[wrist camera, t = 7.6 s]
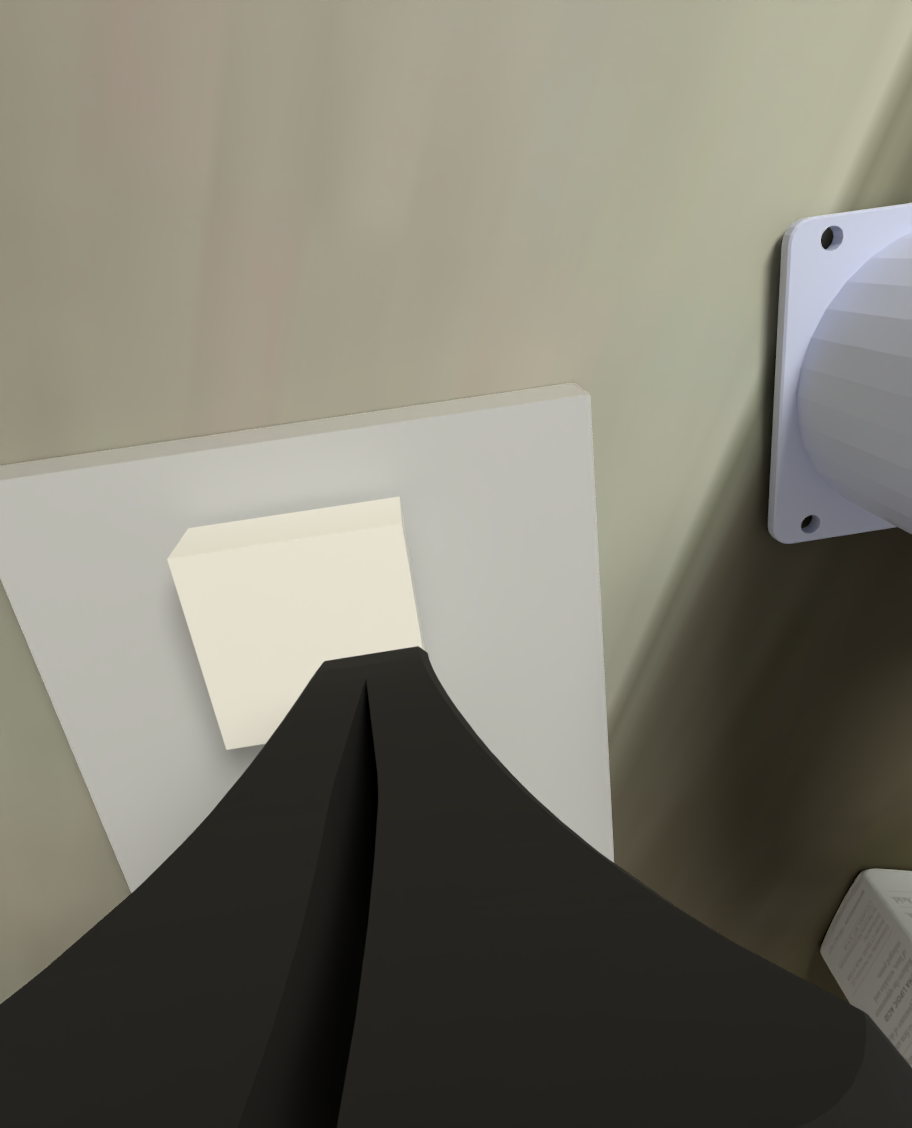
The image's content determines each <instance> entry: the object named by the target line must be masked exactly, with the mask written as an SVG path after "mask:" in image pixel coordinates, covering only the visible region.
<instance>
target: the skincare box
mask: <svg viewBox="0 0 912 1128" xmlns="http://www.w3.org/2000/svg"><path fill="white" fill-rule="evenodd" d="M820 953H821V955H822V957H823V959H824V961H825V962H826V964H827V966H828V968H829V969H830V971H831V973H832V974H833V976H834V978H835V979H836V981H837V983H838V984H839V986H840V988H841V990H842V991H843V993H844V995H845V996H846V998H847V1000H848V1001H849V1003H850V1004H851V1005H853V1006H855V1007H856V1008H858V1009H860V1010H862V1011H864V1012H865V1013H867V1014H868V1015H869V1016H870V1017H871V1019H872V1020H873V1021H874V1022H875V1023H876V1025H877V1026H878V1027H879V1028H880V1029H881V1031H882V1032H883V1033H884V1034H885V1035H886V1037H887V1038H888V1039H889V1040H890V1042H891V1043H892V1044H893V1045H894V1046H895V1048H896V1049H897V1050H898V1051H899V1053H900V1054H901V1055H902V1056H903V1058H904V1059H905V1060H906V1061H907V1062H908V1064H909V1065H910V1066H911V1067H912V871H905V870H893V869H878V868H874V869H868V870H864V871H862V872H860V874H859V875H858V876H857V878H856V879H855V881H854V883H853V884H852V886H851V887H850V889H849V891H848V893H847V894H846V896H845V898H844V900H843V902H842V903H841V905H840V907H839V909H838V911H837V913H836V915H835V917H834V918H833V921H832V923H831V925H830V927H829V929H828V931H827V933H826V936H825V938H824V940H823V943H822V946H821V949H820Z"/></svg>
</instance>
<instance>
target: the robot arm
mask: <svg viewBox="0 0 912 1128" xmlns="http://www.w3.org/2000/svg"><path fill="white" fill-rule="evenodd" d="M828 227H830V229H831V230H832V231H833V236H834V238H833V241H832V244H831V245H830V246H829V247H828V248H827V249H824V248H823V247H822V245H821V237H822V234H823V232H824V231H825V230H826V229H827V228H828ZM810 515H812V520H811V523H810V524H809V525H808V526H807V527H804V528H801V524H802V521H803V520H804V519H805V518H806V517H807V516H810ZM895 527H899V528H900V529H902V530H904V531H906V532H908V533H910V534H912V203H907V204H900V205H892V206H885V207H878V208H871V209H863V210H856V211H849V212H842V213H835V214H827V215H820V216H813V217H806V218H802V219H799V220H796V221H795V222H794V223H793V224H791V225H790V226H789V227H788V229H787V231H786V232H785V234H784V236H783V241H782V248H781V268H780V288H779V308H778V328H777V348H776V368H775V388H774V408H773V428H772V448H771V468H770V489H769V509H768V531H769V533H770V534H771V536H772V537H773V538H775V539H776V540H777V541H779V542H781V543H783V544H792V543H798V542H805V541H811V540H818V539H824V538H830V537H837V536H843V535H850V534H856V533H863V532H869V531H876V530H882V529H888V528H895ZM0 1128H912V1067H911V1066H910V1065H909V1064H908V1062H907V1061H906V1060H905V1059H904V1058H903V1056H902V1055H901V1054H900V1053H899V1051H898V1050H897V1049H896V1048H895V1046H894V1045H893V1044H892V1043H891V1042H890V1040H889V1039H888V1038H887V1037H886V1035H885V1034H884V1033H883V1032H882V1031H881V1029H880V1028H879V1027H878V1026H877V1025H876V1023H875V1022H874V1021H873V1020H872V1019H871V1017H870V1016H869V1015H868V1014H867V1013H865V1012H864V1011H862V1010H860V1009H858V1008H856V1007H855V1006H853V1005H851V1004H849V1003H847V1002H845V1001H843V1000H841V999H839V998H838V997H836V996H834V995H832V994H830V993H828V992H826V991H824V990H822V989H820V988H819V987H817V986H815V985H813V984H811V983H809V982H807V981H805V980H803V979H802V978H800V977H798V976H796V975H794V974H792V973H790V972H788V971H786V970H784V969H783V968H781V967H779V966H777V965H775V964H773V963H771V962H769V961H767V960H766V959H764V958H762V957H760V956H758V955H756V954H754V953H752V952H750V951H748V950H747V949H745V948H743V947H741V946H739V945H737V944H735V943H734V942H732V941H730V940H728V939H727V938H725V937H724V936H722V935H720V934H719V933H717V932H716V931H714V930H712V929H711V928H709V927H707V926H706V925H704V924H703V923H701V922H699V921H698V920H696V919H695V918H693V917H691V916H690V915H688V914H687V913H685V912H683V911H682V910H680V909H679V908H677V907H675V906H674V905H673V904H671V903H670V902H668V901H667V900H666V899H664V898H663V897H661V896H660V895H659V894H657V893H656V892H654V891H653V890H652V889H650V888H649V887H647V886H646V885H644V884H643V883H642V882H640V881H639V880H637V879H636V878H635V877H633V876H632V875H630V874H629V873H628V872H626V871H625V870H623V869H622V868H621V867H619V866H618V865H616V864H615V863H614V862H612V861H611V860H609V859H608V858H607V857H605V856H604V855H602V854H601V853H600V852H598V851H597V850H596V849H595V848H593V847H592V846H591V845H590V844H588V843H587V842H586V841H585V840H584V839H582V838H581V837H580V836H579V835H578V834H576V833H575V832H574V831H573V830H572V829H570V828H569V827H568V826H567V825H565V824H564V823H563V822H562V821H561V820H560V819H559V818H557V817H556V816H555V815H554V814H553V813H552V812H551V811H550V810H549V809H547V808H546V807H545V806H544V805H543V804H542V803H541V802H540V801H539V800H538V799H536V798H535V797H534V796H533V795H532V794H531V793H530V792H529V791H528V790H527V789H526V788H525V787H524V786H523V785H522V784H521V783H520V782H519V781H518V780H517V779H516V778H515V777H514V776H513V775H512V774H511V773H510V771H509V770H508V769H507V768H506V767H505V766H504V765H503V764H502V763H501V762H500V760H499V759H498V758H497V757H496V756H495V755H494V754H493V753H492V752H491V751H490V749H489V748H488V747H487V746H486V745H485V743H484V742H483V741H482V740H481V739H480V737H479V736H478V735H477V734H476V732H475V731H474V730H473V729H472V727H471V726H470V725H469V723H468V722H467V721H466V719H465V718H464V717H463V715H462V714H461V713H460V711H459V710H458V709H457V707H456V706H455V704H454V703H453V702H452V700H451V699H450V697H449V696H448V694H447V692H446V691H445V689H444V687H443V686H442V684H441V683H440V681H439V679H438V677H437V675H436V674H435V672H434V670H433V667H432V665H431V662H430V660H429V656H428V653H427V652H426V651H424V650H423V649H422V648H420V647H419V646H416V647H410V648H403V649H397V650H391V651H384V652H378V653H372V654H366V655H359V656H353V657H347V658H340V659H334V660H328V661H324V662H323V663H322V665H321V666H320V667H319V669H318V670H317V671H316V673H315V674H314V675H313V677H312V678H311V680H310V681H309V683H308V684H307V686H306V687H305V689H304V690H303V692H302V693H301V695H300V696H299V697H298V699H297V700H296V702H295V703H294V705H293V706H292V708H291V709H290V711H289V712H288V713H287V715H286V716H285V718H284V719H283V721H282V722H281V724H280V725H279V726H278V728H277V729H276V730H275V732H274V733H273V734H272V736H271V737H270V738H269V740H268V741H267V743H266V744H265V745H264V747H263V748H262V749H261V751H260V752H259V753H258V755H257V756H256V757H255V759H254V760H253V761H252V763H251V764H250V765H249V767H248V768H247V769H246V770H245V772H244V773H243V774H242V775H241V777H240V778H239V779H238V780H237V781H236V783H235V784H234V785H233V786H232V787H231V789H230V790H229V791H228V792H227V793H226V795H225V796H224V797H223V798H222V799H221V801H220V802H219V803H218V804H217V806H216V807H215V808H214V809H213V810H212V812H211V813H210V814H209V815H208V816H207V817H206V818H205V819H204V821H203V822H202V823H201V824H200V825H199V826H198V827H197V828H196V829H195V830H194V831H193V833H192V834H191V835H190V836H189V837H188V838H187V839H186V840H185V841H184V842H183V843H182V844H181V845H180V846H179V847H178V848H177V849H176V850H175V851H174V852H173V853H172V854H171V855H170V856H169V857H168V858H167V859H166V860H165V861H164V862H163V863H162V864H161V865H160V866H159V867H158V868H157V869H156V870H155V871H154V872H153V873H152V874H151V875H150V876H149V877H148V878H147V879H146V880H145V881H144V882H143V883H142V884H141V885H140V886H139V887H138V888H137V889H136V890H135V891H134V892H132V893H131V894H130V895H129V896H128V897H127V898H126V899H125V900H124V901H122V902H121V903H120V904H119V905H118V906H117V907H116V908H114V909H113V910H112V911H111V912H110V913H109V914H108V915H106V916H105V917H104V918H103V919H102V920H101V921H100V922H98V923H97V924H96V925H95V926H94V927H93V928H92V929H90V930H89V931H88V932H87V933H86V934H85V935H84V936H82V937H81V938H80V939H79V940H78V941H77V942H75V943H74V944H73V945H72V946H71V947H70V948H69V949H67V950H66V951H65V952H64V953H63V954H62V955H61V956H59V957H58V958H57V959H56V960H55V961H54V962H53V963H51V964H50V965H49V966H48V967H47V968H46V969H44V970H43V971H42V972H41V973H39V974H38V975H37V976H36V977H35V978H33V979H32V980H31V981H30V982H28V983H27V984H26V985H25V986H23V987H22V988H21V989H19V990H18V991H17V992H16V993H14V994H13V995H12V996H11V997H9V998H8V999H7V1000H5V1001H4V1002H3V1003H2V1004H0Z"/></svg>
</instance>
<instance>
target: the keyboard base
mask: <svg viewBox="0 0 912 1128" xmlns="http://www.w3.org/2000/svg"><path fill="white" fill-rule="evenodd" d="M393 497H400V501H401V508H402V514H403V520H404V526H405V532H406V538H407V544H408V550H409V556H410V562H411V568H412V574H413V580H414V586H415V593H416V599H417V605H418V611H419V617H420V623H421V629H422V635H423V641H424V647H425V651H426V652H427V653H428V656H429V660H430V662H431V665H432V667H433V670H434V672H435V674H436V675H437V677H438V679H439V681H440V683H441V684H442V686H443V687H444V689H445V691H446V692H447V694H448V696H449V697H450V699H451V700H452V702H453V703H454V704H455V706H456V707H457V709H458V710H459V711H460V713H461V714H462V715H463V717H464V718H465V719H466V721H467V722H468V723H469V725H470V726H471V727H472V729H473V730H474V731H475V732H476V734H477V735H478V736H479V737H480V739H481V740H482V741H483V742H484V743H485V745H486V746H487V747H488V748H489V749H490V751H491V752H492V753H493V754H494V755H495V756H496V757H497V758H498V759H499V760H500V762H501V763H502V764H503V765H504V766H505V767H506V768H507V769H508V770H509V771H510V773H511V774H512V775H513V776H514V777H515V778H516V779H517V780H518V781H519V782H520V783H521V784H522V785H523V786H524V787H525V788H526V789H527V790H528V791H529V792H530V793H531V794H532V795H533V796H534V797H535V798H536V799H538V800H539V801H540V802H541V803H542V804H543V805H544V806H545V807H546V808H547V809H549V810H550V811H551V812H552V813H553V814H554V815H555V816H556V817H557V818H559V819H560V820H561V821H562V822H563V823H564V824H565V825H567V826H568V827H569V828H570V829H572V830H573V831H574V832H575V833H576V834H578V835H579V836H580V837H581V838H582V839H584V840H585V841H586V842H587V843H588V844H590V845H591V846H592V847H593V848H595V849H596V850H597V851H598V852H600V853H601V854H602V855H604V856H605V857H607V858H608V859H609V860H611V861H612V862H614V850H613V830H612V811H611V791H610V771H609V752H608V732H607V712H606V693H605V673H604V654H603V634H602V614H601V595H600V575H599V556H598V536H597V516H596V497H595V477H594V457H593V438H592V418H591V399H590V394H589V393H588V392H586V391H585V390H584V389H582V388H581V387H579V386H578V385H576V384H575V383H573V382H572V383H565V384H558V385H551V386H545V387H538V388H531V389H524V390H517V391H510V392H503V393H496V394H490V395H483V396H476V397H469V398H462V399H455V400H448V401H441V402H435V403H428V404H421V405H414V406H407V407H400V408H393V409H386V410H380V411H373V412H366V413H359V414H352V415H345V416H338V417H331V418H325V419H318V420H311V421H304V422H297V423H290V424H283V425H276V426H270V427H263V428H256V429H249V430H242V431H235V432H228V433H221V434H215V435H208V436H201V437H194V438H187V439H180V440H173V441H166V442H160V443H153V444H146V445H139V446H132V447H125V448H118V449H111V450H105V451H98V452H91V453H84V454H77V455H70V456H63V457H56V458H50V459H43V460H36V461H29V462H22V463H15V464H8V465H1V466H0V579H1V581H2V583H3V586H4V588H5V591H6V593H7V595H8V598H9V600H10V603H11V605H12V607H13V610H14V612H15V615H16V617H17V620H18V622H19V624H20V627H21V629H22V632H23V634H24V636H25V639H26V641H27V644H28V646H29V648H30V651H31V653H32V656H33V658H34V660H35V663H36V665H37V668H38V670H39V672H40V675H41V677H42V680H43V682H44V684H45V687H46V689H47V692H48V694H49V696H50V699H51V701H52V704H53V706H54V708H55V711H56V713H57V716H58V718H59V720H60V723H61V725H62V728H63V730H64V732H65V735H66V737H67V740H68V742H69V744H70V747H71V749H72V752H73V754H74V756H75V759H76V761H77V764H78V766H79V768H80V771H81V773H82V776H83V778H84V780H85V783H86V785H87V788H88V790H89V792H90V795H91V797H92V800H93V802H94V804H95V807H96V809H97V812H98V814H99V816H100V819H101V821H102V824H103V826H104V828H105V831H106V833H107V836H108V838H109V841H110V843H111V845H112V848H113V850H114V853H115V855H116V857H117V860H118V862H119V865H120V867H121V869H122V872H123V874H124V877H125V879H126V881H127V884H128V886H129V889H130V891H131V893H132V892H134V891H135V890H136V889H137V888H138V887H139V886H140V885H141V884H142V883H143V882H144V881H145V880H146V879H147V878H148V877H149V876H150V875H151V874H152V873H153V872H154V871H155V870H156V869H157V868H158V867H159V866H160V865H161V864H162V863H163V862H164V861H165V860H166V859H167V858H168V857H169V856H170V855H171V854H172V853H173V852H174V851H175V850H176V849H177V848H178V847H179V846H180V845H181V844H182V843H183V842H184V841H185V840H186V839H187V838H188V837H189V836H190V835H191V834H192V833H193V831H194V830H195V829H196V828H197V827H198V826H199V825H200V824H201V823H202V822H203V821H204V819H205V818H206V817H207V816H208V815H209V814H210V813H211V812H212V810H213V809H214V808H215V807H216V806H217V804H218V803H219V802H220V801H221V799H222V798H223V797H224V796H225V795H226V793H227V792H228V791H229V790H230V789H231V787H232V786H233V785H234V784H235V783H236V781H237V780H238V779H239V778H240V777H241V775H242V774H243V773H244V772H245V770H246V769H247V768H248V767H249V765H250V764H251V763H252V761H253V760H254V759H255V757H256V756H257V755H258V753H259V752H260V751H261V749H262V748H263V747H264V745H265V744H260V745H254V746H248V747H242V748H236V749H229V750H226V747H225V744H224V741H223V737H222V734H221V731H220V728H219V725H218V721H217V718H216V715H215V712H214V708H213V705H212V702H211V699H210V696H209V692H208V689H207V686H206V683H205V679H204V676H203V673H202V670H201V667H200V663H199V660H198V657H197V654H196V651H195V647H194V644H193V641H192V638H191V634H190V631H189V628H188V625H187V622H186V618H185V615H184V612H183V609H182V606H181V602H180V599H179V596H178V593H177V589H176V586H175V583H174V580H173V577H172V573H171V570H170V567H169V564H168V561H167V559H168V557H169V556H170V554H171V553H172V551H173V550H174V548H175V547H176V545H177V544H178V543H179V541H180V540H181V538H182V537H183V535H184V534H185V532H186V531H187V529H188V528H193V527H200V526H206V525H213V524H220V523H226V522H233V521H240V520H246V519H253V518H260V517H266V516H273V515H280V514H286V513H293V512H300V511H306V510H313V509H320V508H326V507H333V506H340V505H346V504H353V503H360V502H366V501H373V500H380V499H386V498H393Z"/></svg>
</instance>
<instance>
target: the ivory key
mask: <svg viewBox="0 0 912 1128" xmlns="http://www.w3.org/2000/svg"><path fill="white" fill-rule="evenodd" d="M167 561H168V564H169V567H170V570H171V573H172V577H173V580H174V583H175V586H176V589H177V593H178V596H179V599H180V602H181V606H182V609H183V612H184V615H185V618H186V622H187V625H188V628H189V631H190V634H191V638H192V641H193V644H194V647H195V651H196V654H197V657H198V660H199V663H200V667H201V670H202V673H203V676H204V679H205V683H206V686H207V689H208V692H209V696H210V699H211V702H212V705H213V708H214V712H215V715H216V718H217V721H218V725H219V728H220V731H221V734H222V737H223V741H224V744H225V747H226V750H229V749H236V748H242V747H248V746H254V745H260V744H266V743H267V741H268V740H269V738H270V737H271V736H272V734H273V733H274V732H275V730H276V729H277V728H278V726H279V725H280V724H281V722H282V721H283V719H284V718H285V716H286V715H287V713H288V712H289V711H290V709H291V708H292V706H293V705H294V703H295V702H296V700H297V699H298V697H299V696H300V695H301V693H302V692H303V690H304V689H305V687H306V686H307V684H308V683H309V681H310V680H311V678H312V677H313V675H314V674H315V673H316V671H317V670H318V669H319V667H320V666H321V665H322V663H323V662H324V661H328V660H334V659H340V658H347V657H353V656H359V655H366V654H372V653H378V652H384V651H391V650H397V649H403V648H410V647H416V646H419V647H420V648H422V649H423V650H424V651H425V647H424V641H423V635H422V629H421V623H420V617H419V611H418V605H417V599H416V593H415V586H414V580H413V574H412V568H411V562H410V556H409V550H408V544H407V538H406V532H405V526H404V520H403V514H402V508H401V501H400V497H393V498H386V499H380V500H373V501H366V502H360V503H353V504H346V505H340V506H333V507H326V508H320V509H313V510H306V511H300V512H293V513H286V514H280V515H273V516H266V517H260V518H253V519H246V520H240V521H233V522H226V523H220V524H213V525H206V526H200V527H193V528H188V529H187V531H186V532H185V534H184V535H183V537H182V538H181V540H180V541H179V543H178V544H177V545H176V547H175V548H174V550H173V551H172V553H171V554H170V556H169V557H168V559H167Z"/></svg>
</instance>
